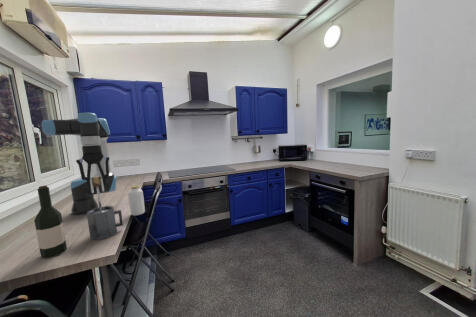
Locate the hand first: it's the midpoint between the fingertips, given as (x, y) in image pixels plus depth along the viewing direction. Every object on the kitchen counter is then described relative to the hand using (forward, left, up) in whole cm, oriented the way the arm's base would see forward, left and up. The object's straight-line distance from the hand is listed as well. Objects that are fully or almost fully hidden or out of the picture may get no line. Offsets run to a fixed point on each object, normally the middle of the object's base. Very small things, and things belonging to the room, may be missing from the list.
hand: (98, 191), depth 97 cm
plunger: (0, 0, -11) cm, 11 cm away
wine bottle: (+6, -18, -23) cm, 30 cm away
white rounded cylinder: (-20, +18, -23) cm, 35 cm away
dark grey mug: (0, +1, -23) cm, 23 cm away
